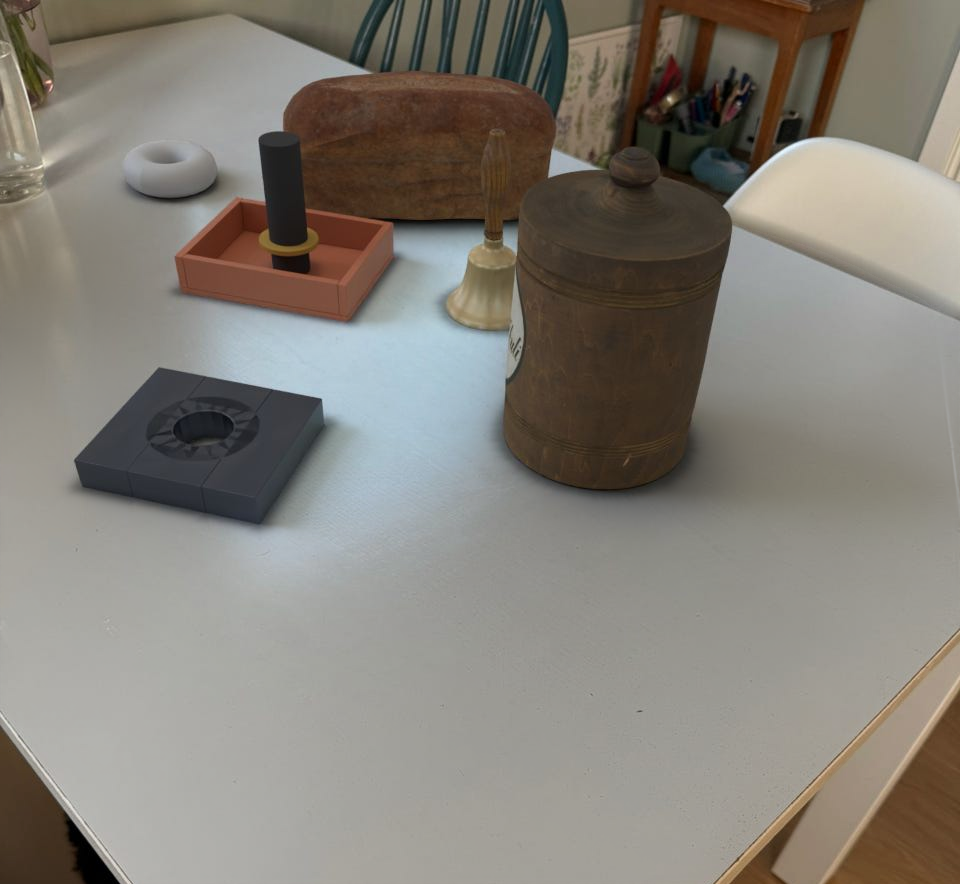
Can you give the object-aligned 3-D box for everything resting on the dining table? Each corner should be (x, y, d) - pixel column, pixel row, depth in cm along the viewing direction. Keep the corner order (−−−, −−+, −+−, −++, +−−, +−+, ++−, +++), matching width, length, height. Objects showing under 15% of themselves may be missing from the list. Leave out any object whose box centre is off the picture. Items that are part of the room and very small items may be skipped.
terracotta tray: (181, 292, 92) (173, 255, 90) (240, 231, 101) (236, 196, 99) (347, 322, 90) (345, 285, 87) (394, 257, 99) (393, 222, 96)
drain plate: (82, 487, 72) (73, 459, 70) (164, 393, 81) (158, 366, 79) (259, 525, 70) (255, 497, 68) (324, 424, 79) (322, 398, 77)
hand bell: (516, 339, 89) (531, 157, 78) (432, 319, 91) (434, 138, 79) (544, 298, 95) (562, 122, 83) (464, 280, 96) (470, 105, 85)
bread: (555, 231, 105) (568, 108, 96) (288, 231, 102) (275, 104, 93) (537, 178, 114) (547, 61, 105) (292, 176, 111) (281, 56, 102)
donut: (231, 172, 112) (145, 161, 112) (227, 140, 109) (140, 129, 110) (202, 209, 105) (111, 197, 105) (197, 176, 102) (104, 164, 103)
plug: (253, 277, 94) (236, 145, 85) (276, 251, 97) (262, 123, 89) (308, 286, 93) (296, 155, 84) (329, 260, 97) (320, 131, 88)
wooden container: (563, 365, 87) (596, 95, 71) (715, 427, 81) (788, 149, 65) (465, 442, 78) (477, 155, 62) (627, 517, 73) (686, 223, 57)
